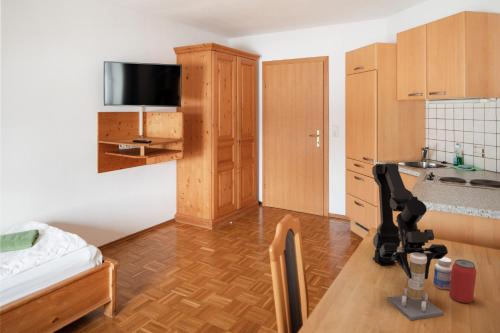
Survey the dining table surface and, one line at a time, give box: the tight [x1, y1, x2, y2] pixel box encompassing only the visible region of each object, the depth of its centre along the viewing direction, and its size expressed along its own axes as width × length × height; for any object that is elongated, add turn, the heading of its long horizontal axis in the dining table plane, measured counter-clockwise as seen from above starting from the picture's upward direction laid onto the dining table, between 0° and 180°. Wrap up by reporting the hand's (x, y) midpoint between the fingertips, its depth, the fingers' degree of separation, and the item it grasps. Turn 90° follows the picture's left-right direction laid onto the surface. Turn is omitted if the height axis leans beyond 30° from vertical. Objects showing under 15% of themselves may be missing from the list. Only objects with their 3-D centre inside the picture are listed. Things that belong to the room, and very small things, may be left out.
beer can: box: [448, 258, 477, 304], centre depth 113 cm, size 7×7×12 cm
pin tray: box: [387, 287, 444, 321], centre depth 109 cm, size 11×11×4 cm
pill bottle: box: [433, 256, 453, 290], centre depth 121 cm, size 6×5×10 cm
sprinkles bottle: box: [407, 252, 427, 300], centre depth 107 cm, size 5×5×14 cm
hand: (418, 278), depth 106 cm, fingers closed on sprinkles bottle, 4 cm apart
